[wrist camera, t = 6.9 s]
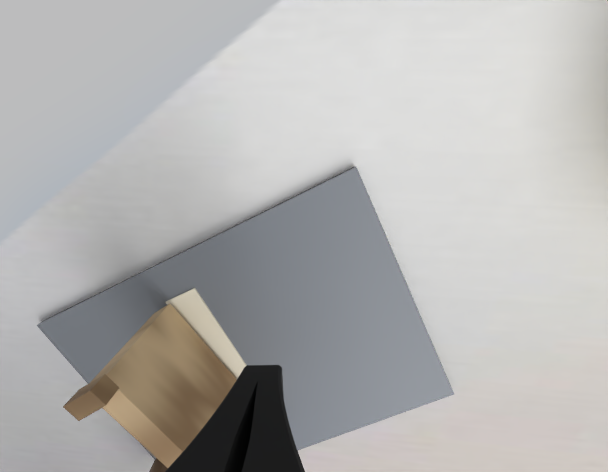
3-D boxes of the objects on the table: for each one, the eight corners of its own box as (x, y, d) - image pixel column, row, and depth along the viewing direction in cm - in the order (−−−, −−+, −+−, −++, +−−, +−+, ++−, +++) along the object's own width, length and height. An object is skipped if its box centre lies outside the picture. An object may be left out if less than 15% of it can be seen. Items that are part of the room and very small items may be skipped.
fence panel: (262, 406, 19) (241, 531, 12) (245, 415, 19) (216, 542, 13) (170, 301, 16) (90, 390, 10) (151, 312, 17) (63, 406, 11)
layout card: (185, 485, 22) (182, 492, 21) (42, 321, 18) (35, 326, 17) (451, 389, 19) (454, 395, 18) (355, 166, 15) (356, 167, 14)
